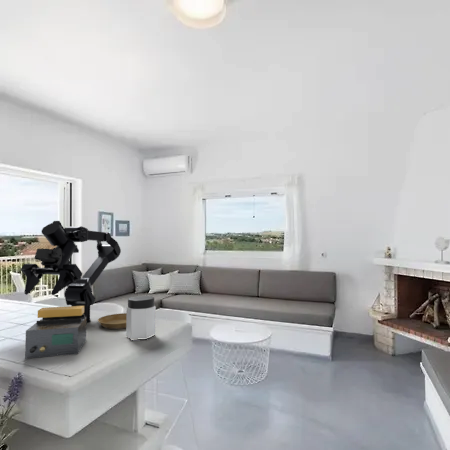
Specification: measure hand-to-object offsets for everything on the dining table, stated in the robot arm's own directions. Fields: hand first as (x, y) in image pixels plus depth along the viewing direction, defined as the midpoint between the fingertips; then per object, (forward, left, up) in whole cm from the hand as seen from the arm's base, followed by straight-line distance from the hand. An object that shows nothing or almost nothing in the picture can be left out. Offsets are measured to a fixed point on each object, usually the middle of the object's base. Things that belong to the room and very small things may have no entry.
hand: (38, 294), depth 97 cm
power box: (-5, +13, -14) cm, 19 cm away
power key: (-6, +10, -5) cm, 13 cm away
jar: (-28, +13, -14) cm, 34 cm away
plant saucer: (-25, -5, -14) cm, 29 cm away
